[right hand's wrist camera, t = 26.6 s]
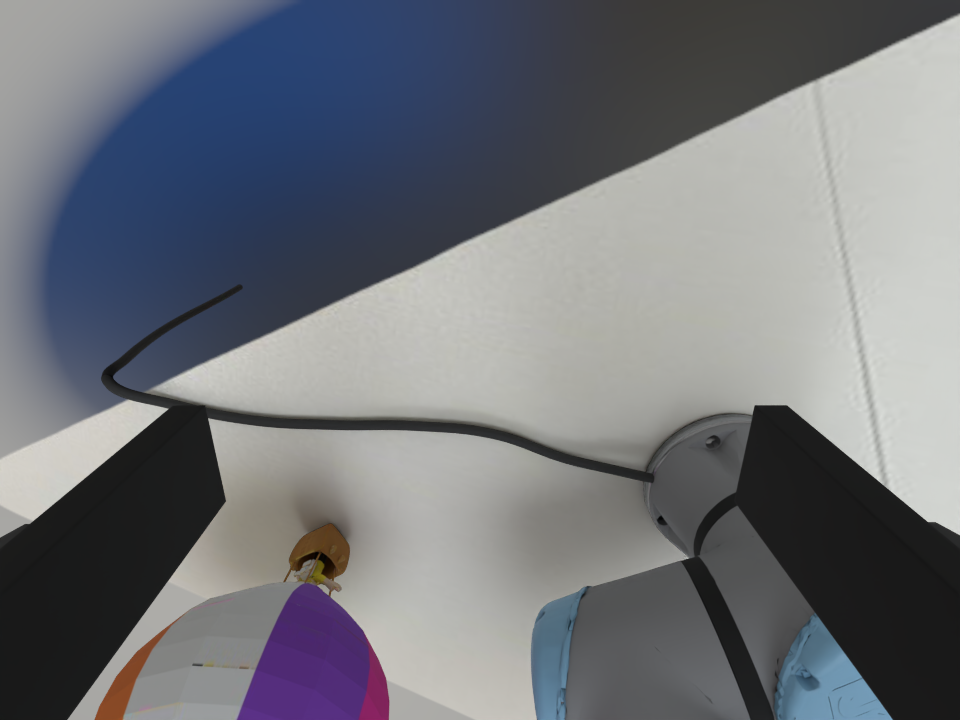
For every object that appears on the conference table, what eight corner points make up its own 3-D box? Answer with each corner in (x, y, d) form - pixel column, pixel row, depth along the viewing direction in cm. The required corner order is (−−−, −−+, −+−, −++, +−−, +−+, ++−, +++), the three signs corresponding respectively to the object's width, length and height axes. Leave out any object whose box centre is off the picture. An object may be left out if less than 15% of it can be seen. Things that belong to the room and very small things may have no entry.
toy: (352, 427, 50) (194, 771, 22) (454, 567, 57) (428, 970, 29) (193, 508, 54) (-114, 892, 26) (305, 631, 60) (155, 1046, 32)
